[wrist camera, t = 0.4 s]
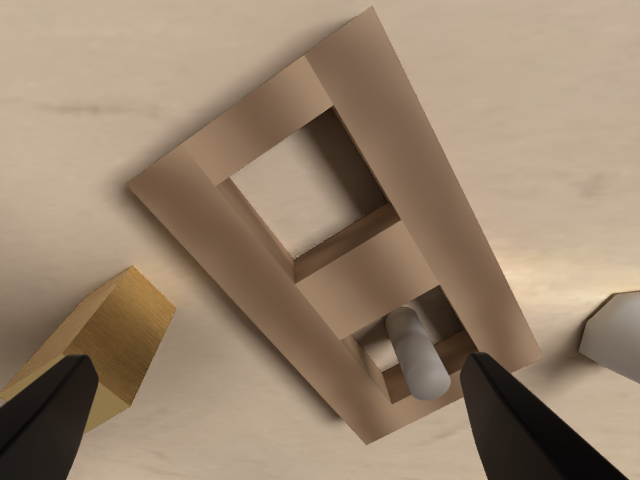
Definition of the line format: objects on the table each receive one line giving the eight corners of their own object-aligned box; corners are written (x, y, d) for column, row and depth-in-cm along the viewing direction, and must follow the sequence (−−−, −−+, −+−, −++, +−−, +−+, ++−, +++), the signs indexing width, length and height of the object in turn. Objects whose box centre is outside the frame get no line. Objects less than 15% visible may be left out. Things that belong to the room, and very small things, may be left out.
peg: (131, 336, 25) (69, 442, 18) (85, 296, 24) (-3, 395, 17) (176, 308, 25) (130, 406, 18) (132, 265, 23) (61, 353, 16)
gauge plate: (359, 411, 30) (375, 486, 25) (146, 169, 21) (97, 204, 15) (518, 328, 28) (574, 391, 22) (359, 14, 19) (389, -8, 13)
